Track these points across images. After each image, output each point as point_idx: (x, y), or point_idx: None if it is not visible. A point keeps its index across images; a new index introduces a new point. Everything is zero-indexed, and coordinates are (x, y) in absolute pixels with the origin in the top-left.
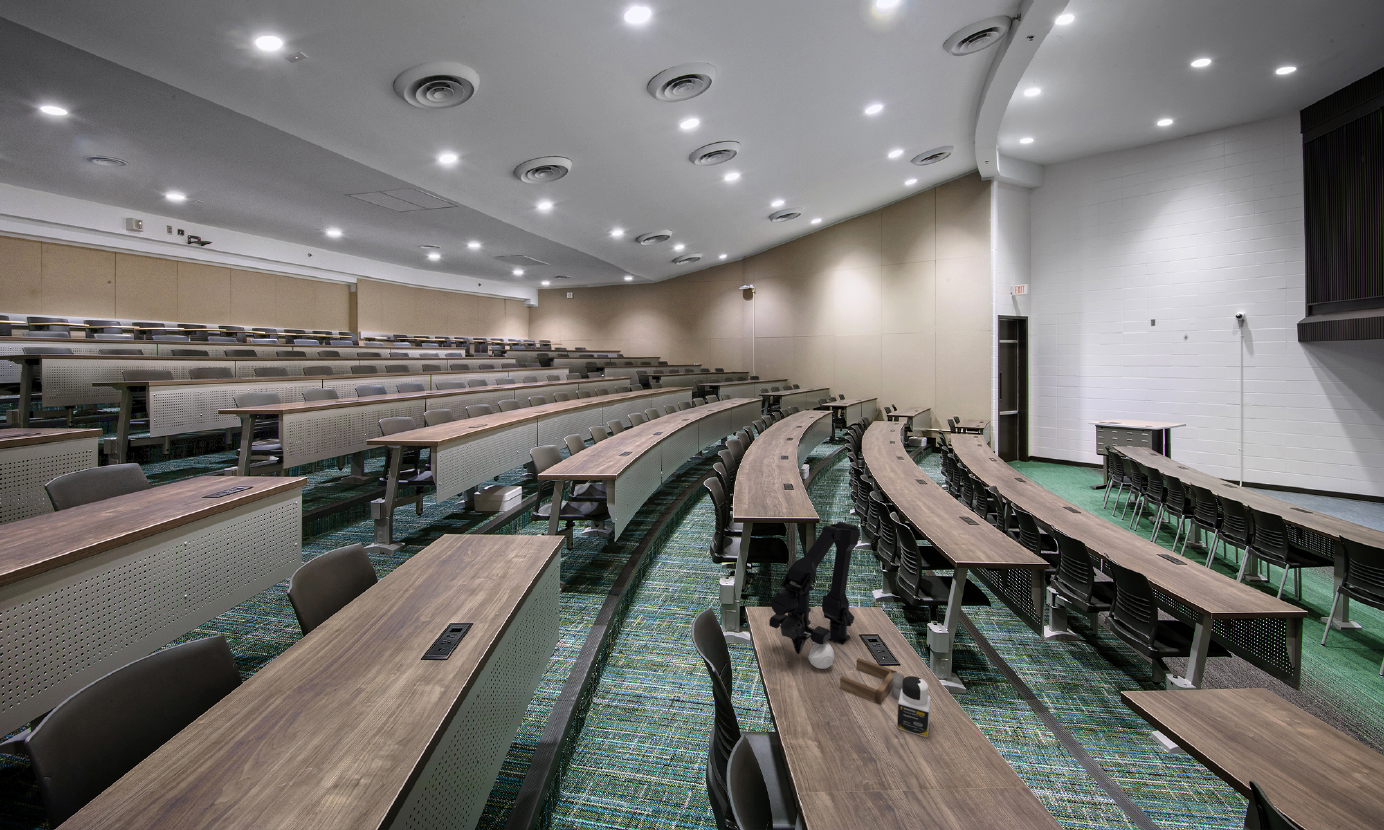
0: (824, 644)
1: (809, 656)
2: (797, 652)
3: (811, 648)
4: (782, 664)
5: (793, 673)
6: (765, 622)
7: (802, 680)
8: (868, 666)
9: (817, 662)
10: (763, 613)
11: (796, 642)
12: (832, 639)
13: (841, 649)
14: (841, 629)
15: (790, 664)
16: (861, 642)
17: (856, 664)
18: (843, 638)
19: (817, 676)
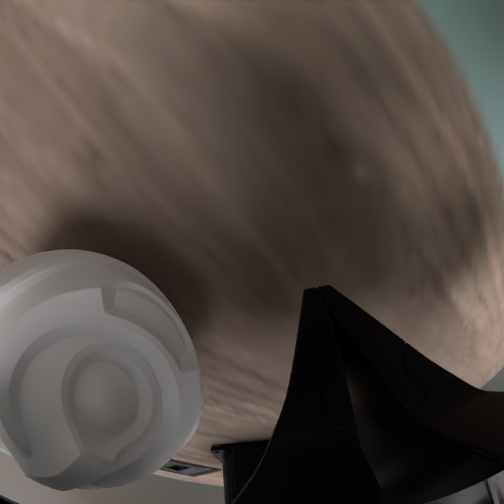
0: (22, 469)
1: (86, 292)
2: (320, 293)
3: (189, 402)
4: (354, 73)
5: (168, 22)
6: (501, 344)
7: (51, 28)
8: None
9: (3, 269)
10: (500, 363)
11: (373, 381)
12: (252, 448)
13: None
14: (230, 492)
15: (297, 127)
16: (185, 460)
17: None
18: (223, 462)
19: (23, 180)
